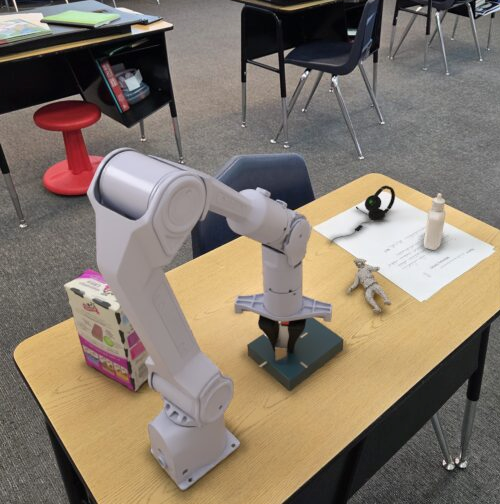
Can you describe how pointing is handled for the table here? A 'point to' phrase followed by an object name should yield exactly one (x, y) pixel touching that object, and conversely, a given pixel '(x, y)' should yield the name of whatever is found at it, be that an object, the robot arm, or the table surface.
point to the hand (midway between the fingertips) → (284, 347)
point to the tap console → (298, 354)
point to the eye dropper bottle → (435, 223)
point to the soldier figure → (368, 283)
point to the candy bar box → (106, 331)
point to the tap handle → (282, 344)
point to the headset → (376, 206)
